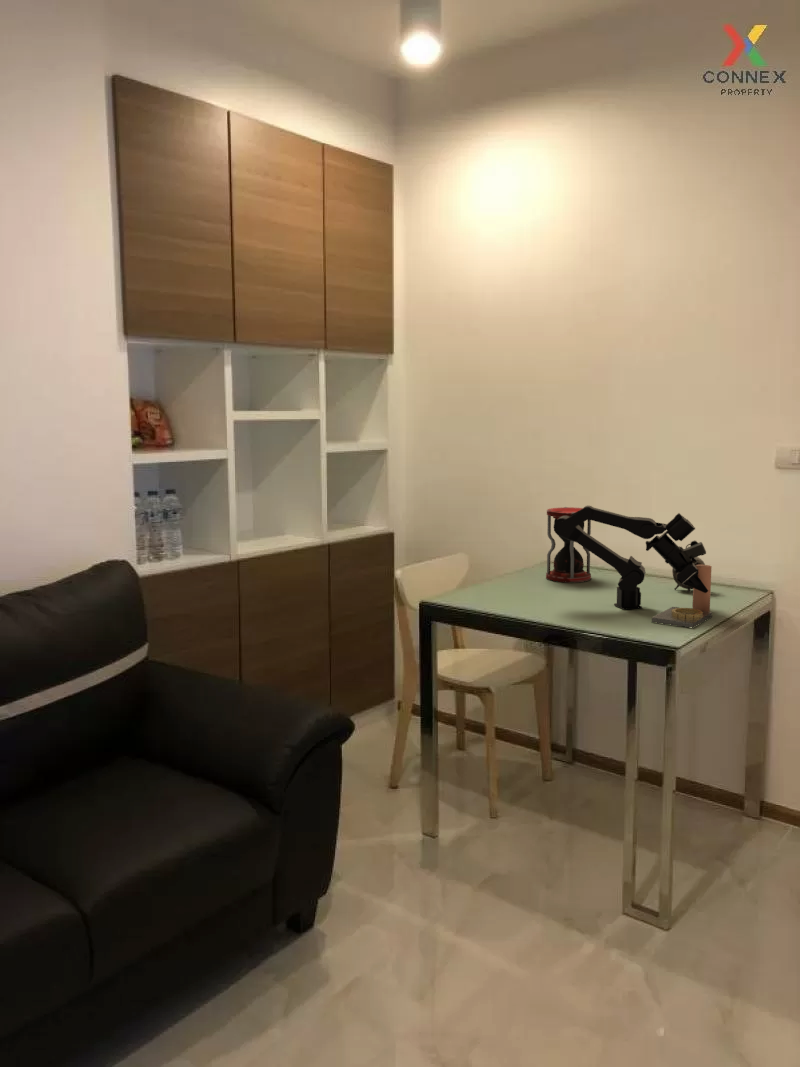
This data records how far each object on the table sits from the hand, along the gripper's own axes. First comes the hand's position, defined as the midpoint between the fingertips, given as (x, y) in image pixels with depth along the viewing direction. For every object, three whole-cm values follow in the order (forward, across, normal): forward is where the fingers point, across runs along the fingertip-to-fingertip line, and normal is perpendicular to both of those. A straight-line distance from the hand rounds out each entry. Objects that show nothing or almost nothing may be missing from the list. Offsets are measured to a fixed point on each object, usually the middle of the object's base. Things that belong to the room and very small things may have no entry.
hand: (706, 588), depth 267 cm
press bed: (0, -12, +10) cm, 15 cm away
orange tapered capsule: (+4, 0, +6) cm, 7 cm away
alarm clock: (+2, +28, +9) cm, 29 cm away
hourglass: (-28, +40, +38) cm, 62 cm away
